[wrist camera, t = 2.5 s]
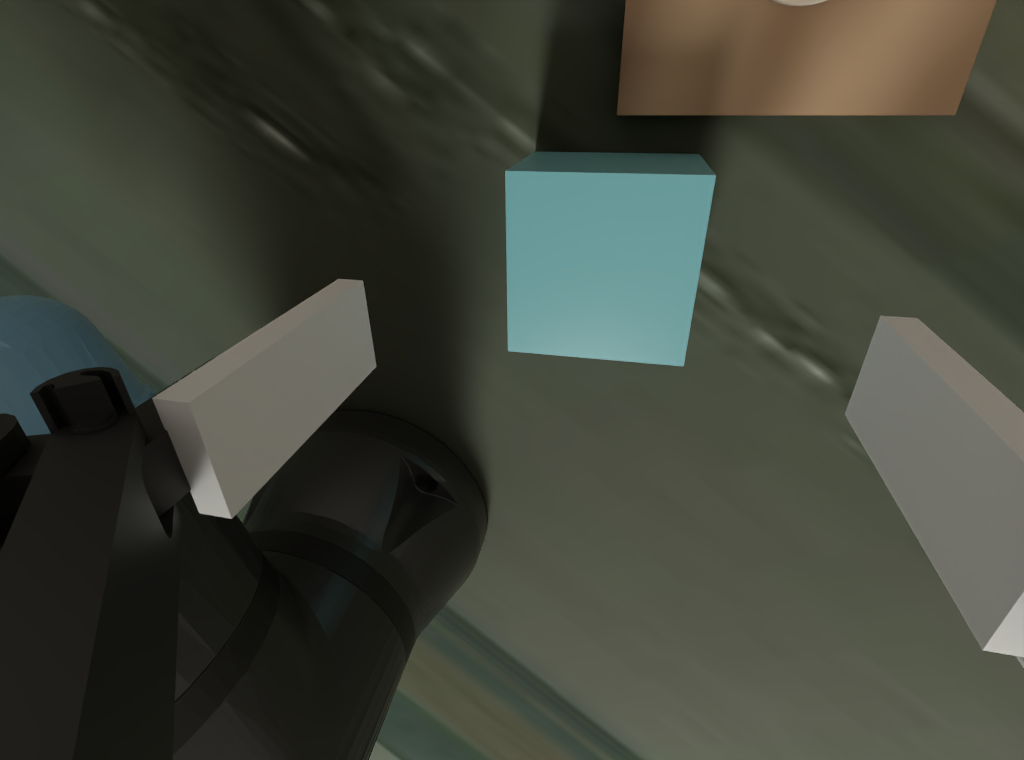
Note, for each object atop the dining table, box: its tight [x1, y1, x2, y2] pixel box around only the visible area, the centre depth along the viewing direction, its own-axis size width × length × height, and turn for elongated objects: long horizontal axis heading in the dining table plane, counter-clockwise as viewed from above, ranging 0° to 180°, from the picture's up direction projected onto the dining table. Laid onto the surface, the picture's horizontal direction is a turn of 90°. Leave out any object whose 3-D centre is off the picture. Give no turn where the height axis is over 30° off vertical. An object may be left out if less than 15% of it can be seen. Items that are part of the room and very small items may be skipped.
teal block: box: [505, 152, 716, 366], centre depth 22 cm, size 7×7×6 cm
